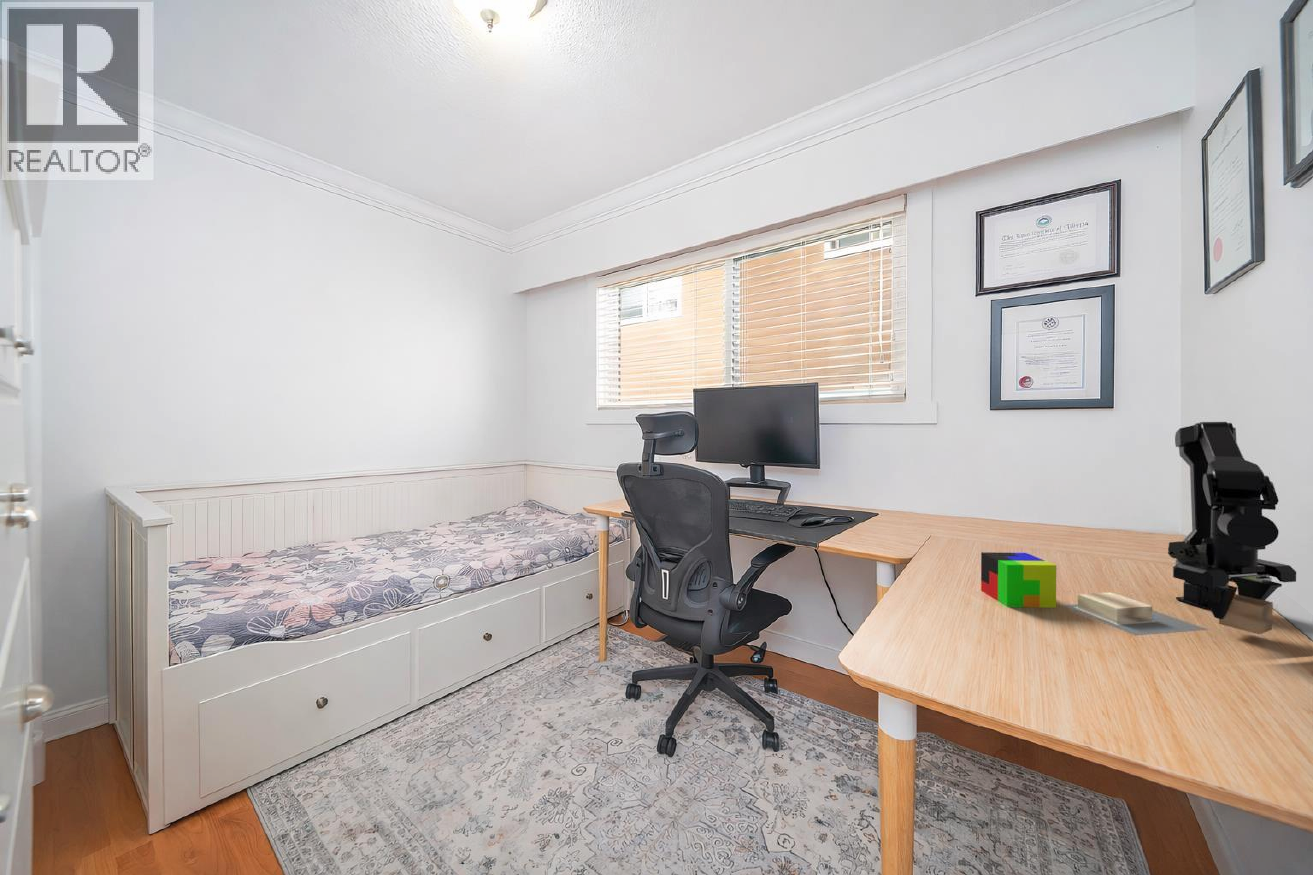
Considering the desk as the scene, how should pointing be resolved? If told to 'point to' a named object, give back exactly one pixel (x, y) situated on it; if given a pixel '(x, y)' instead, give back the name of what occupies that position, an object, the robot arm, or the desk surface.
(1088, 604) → the maple slab
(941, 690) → the desk surface
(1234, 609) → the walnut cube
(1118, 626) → the build mat
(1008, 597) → the puzzle toy
